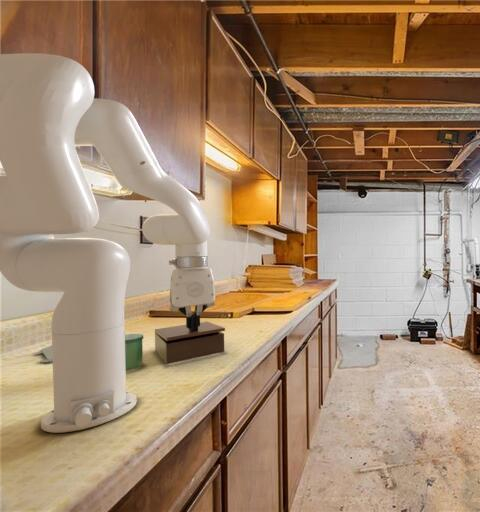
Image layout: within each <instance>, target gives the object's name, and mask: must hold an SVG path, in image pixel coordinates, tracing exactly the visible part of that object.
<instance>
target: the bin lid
mask: <svg viewBox="0 0 480 512" xmlns="http://www.w3.org/2000/svg"><path fill="white" fill-rule="evenodd" d="M155 332H156V333H157V334H158V335H160V336H161V337H162V338H164V339H165V340H167V341H169V340H175V339H180V338H186V337H192V336H198V335H203V334H209V333H215V332H226V328H225V327H223V326H221V325H217V324H215V323H212V322H210V321H202V322H201V321H200V326H198V330H197V331H196V330H194V331H190V330H189V328H187V327H186V324H182V325H181V324H180V325H174V326H168V327H161V328H155V329H154V333H155Z"/></svg>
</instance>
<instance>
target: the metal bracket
mask: <svg viewBox="0 0 480 512" xmlns="http://www.w3.org/2000/svg"><path fill="white" fill-rule="evenodd" d="M41 354H42V355H43V357H44V358H45V359H42V360H40V363H42V364H43V363H50V362H53V357H52V344H51V345H49V346H46V347H43V348H41V349H40V350H39V351H37V353H35V355H36V356H38V355H41Z"/></svg>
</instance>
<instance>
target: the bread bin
mask: <svg viewBox="0 0 480 512" xmlns="http://www.w3.org/2000/svg"><path fill="white" fill-rule="evenodd" d="M154 348H155V349H154V351H156V353H157V354H158V355H159V357H160V358H161V359H162V360H163V362H165V364H166V365H168V364H172V363H178V362H181V361H186V360H191V359H196V358H201V357H204V356H205V357H206V356H210V355H214V354H218V353H224V352H225V333H224V332H223V331H221V332H215V333H209V334H203V335H198V336H192V337H186V338H180V339H175V340H169V341H167V340H165V339H164V338H162V337H161V336H160V335H158V334H157V333H156V332H155V331H154Z"/></svg>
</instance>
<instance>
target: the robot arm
mask: <svg viewBox="0 0 480 512" xmlns="http://www.w3.org/2000/svg"><path fill="white" fill-rule="evenodd" d="M95 92H96V91H95V84H94V80H93V78H92V77H91V74H90V73H89V71H88V69H87V68H85V66H83V65H82V64H81V63H79V62H78V61H76V60H74V59H72V58H69V57H66V56H64V55H58V54H53V53H52V54H51V53H40V52H39V53H37V52H36V53H35V52H34V53H30V52H29V53H28V52H26V53H25V52H23V53H20V52H19V53H0V164H1V166H2V169H3V171H4V173H5V175H0V273H1V274H2V276H3V278H5V279H6V280H7V282H9V283H10V284H11V285H12V286H14V287H16V288H18V289H20V290H24V291H29V292H43V293H48V292H49V293H63V294H62V295H61V298H60V300H59V302H58V303H57V305H56V307H55V309H54V310H53V313H52V317H51V325H50V326H51V327H50V329H51V345H52V357H53V361H52V386H53V388H52V389H53V391H52V392H53V409H51V410H50V411H48V412H47V413H46V414H45V415H43V416H42V418H41V419H40V429H41V430H42V431H43V432H48V433H52V434H53V433H55V434H58V433H70V432H77V431H81V430H85V429H90V428H93V427H97V426H99V425H103V424H105V423H108V422H110V421H113V420H115V419H118V418H120V417H122V416H123V415H125V414H126V413H128V412H130V411H132V409H133V408H134V407H135V406H136V405H137V402H138V398H137V397H138V396H137V395H136V394H135V393H133V392H131V391H127V370H126V364H125V335H126V329H125V327H126V326H125V325H126V323H125V304H126V303H125V301H126V290H127V287H128V286H127V285H128V281H129V277H130V272H131V258H130V255H129V253H128V251H127V250H126V248H125V247H124V246H122V245H120V244H118V243H117V242H116V241H112V240H109V239H104V238H96V237H63V238H58V237H57V238H55V236H54V235H73V234H81V233H84V232H88V231H90V230H91V229H93V228H95V227H96V226H97V224H98V222H99V220H100V213H99V212H100V210H99V207H98V204H97V200H96V197H95V195H94V193H93V190H92V187H91V185H90V183H89V179H88V178H87V176H86V173H85V171H84V167H83V165H82V164H81V161H80V158H79V155H78V151H77V149H76V147H94V148H95V150H96V151H97V153H98V154H99V156H100V157H101V159H102V160H103V162H104V164H105V165H106V166H107V168H108V170H109V171H110V172H111V174H112V176H113V177H114V179H115V180H116V182H117V183H118V185H120V186H121V187H122V188H123V189H125V190H128V191H130V192H131V193H135V194H138V195H140V196H143V197H146V198H149V199H151V200H154V201H156V202H159V203H160V204H163V205H165V206H167V207H168V208H170V209H172V210H173V211H174V212H175V213H174V214H173V213H172V214H171V213H170V214H168V213H167V214H155V215H151V216H149V217H147V218H146V219H145V220H144V222H143V223H142V225H141V232H142V234H143V236H144V238H145V239H146V240H147V241H148V242H150V243H152V244H155V245H159V246H160V245H161V246H174V252H175V253H174V254H175V256H174V258H172V259H169V260H168V265H169V266H171V265H172V266H174V267H175V268H172V272H171V275H170V276H171V277H170V284H169V303H170V304H169V308H168V310H169V311H171V312H179V313H182V314H183V315H184V316H185V325H186V327H187V328H189V330H190V331H194V330H196V331H197V330H198V326H200V323H201V315H202V314H203V313H204V312H205V310H207V309H209V308H212V307H214V306H215V305H216V304H215V301H216V287H215V279H214V274H213V270H212V267H208V266H209V258H208V254H209V253H208V239H209V237H210V235H211V226H210V222H209V219H208V216H207V214H206V212H205V210H204V208H203V206H202V204H201V202H200V201H199V199H198V198H197V197H196V195H195V194H193V192H191V191H190V190H189V189H187V187H185V186H184V185H183V184H182V183H180V182H179V181H177V180H176V179H174V177H171V176H170V175H169V174H167V173H166V172H165V171H164V170H163V168H162V167H161V165H160V163H159V162H158V159H157V157H156V156H155V153H154V152H153V149H152V148H151V146H150V144H149V142H148V140H147V139H146V137H145V135H144V133H143V131H142V128H141V127H140V125H139V123H138V121H137V119H136V118H135V116H134V114H133V113H132V111H131V110H130V109H129V107H128V106H126V105H125V104H124V103H121V102H119V101H116V100H112V99H108V98H97V97H96V98H95ZM191 307H194V311H193V313H192V308H191Z"/></svg>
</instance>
